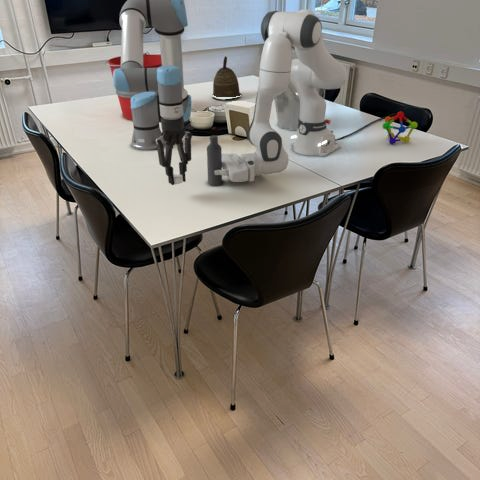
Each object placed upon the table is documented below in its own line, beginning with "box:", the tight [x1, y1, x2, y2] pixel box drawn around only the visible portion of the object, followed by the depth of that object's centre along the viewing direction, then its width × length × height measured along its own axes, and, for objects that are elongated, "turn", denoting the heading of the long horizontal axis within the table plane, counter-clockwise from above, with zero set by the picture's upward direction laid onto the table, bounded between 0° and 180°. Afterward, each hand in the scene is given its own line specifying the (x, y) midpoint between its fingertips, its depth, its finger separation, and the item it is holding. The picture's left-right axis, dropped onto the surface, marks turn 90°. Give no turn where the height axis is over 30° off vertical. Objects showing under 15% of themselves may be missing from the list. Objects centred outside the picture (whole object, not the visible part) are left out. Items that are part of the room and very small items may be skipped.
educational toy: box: [382, 110, 418, 145], centre depth 207 cm, size 16×13×15 cm
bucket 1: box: [104, 51, 162, 121], centre depth 240 cm, size 35×35×30 cm
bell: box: [212, 56, 242, 97], centre depth 278 cm, size 19×26×20 cm
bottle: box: [206, 134, 223, 187], centre depth 166 cm, size 5×5×19 cm
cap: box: [173, 173, 184, 185], centre depth 157 cm, size 4×4×2 cm
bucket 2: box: [273, 81, 326, 131], centre depth 226 cm, size 30×30×28 cm
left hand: (177, 181), depth 158 cm, fingers closed on cap, 4 cm apart
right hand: (212, 168), depth 168 cm, fingers closed on bottle, 5 cm apart
